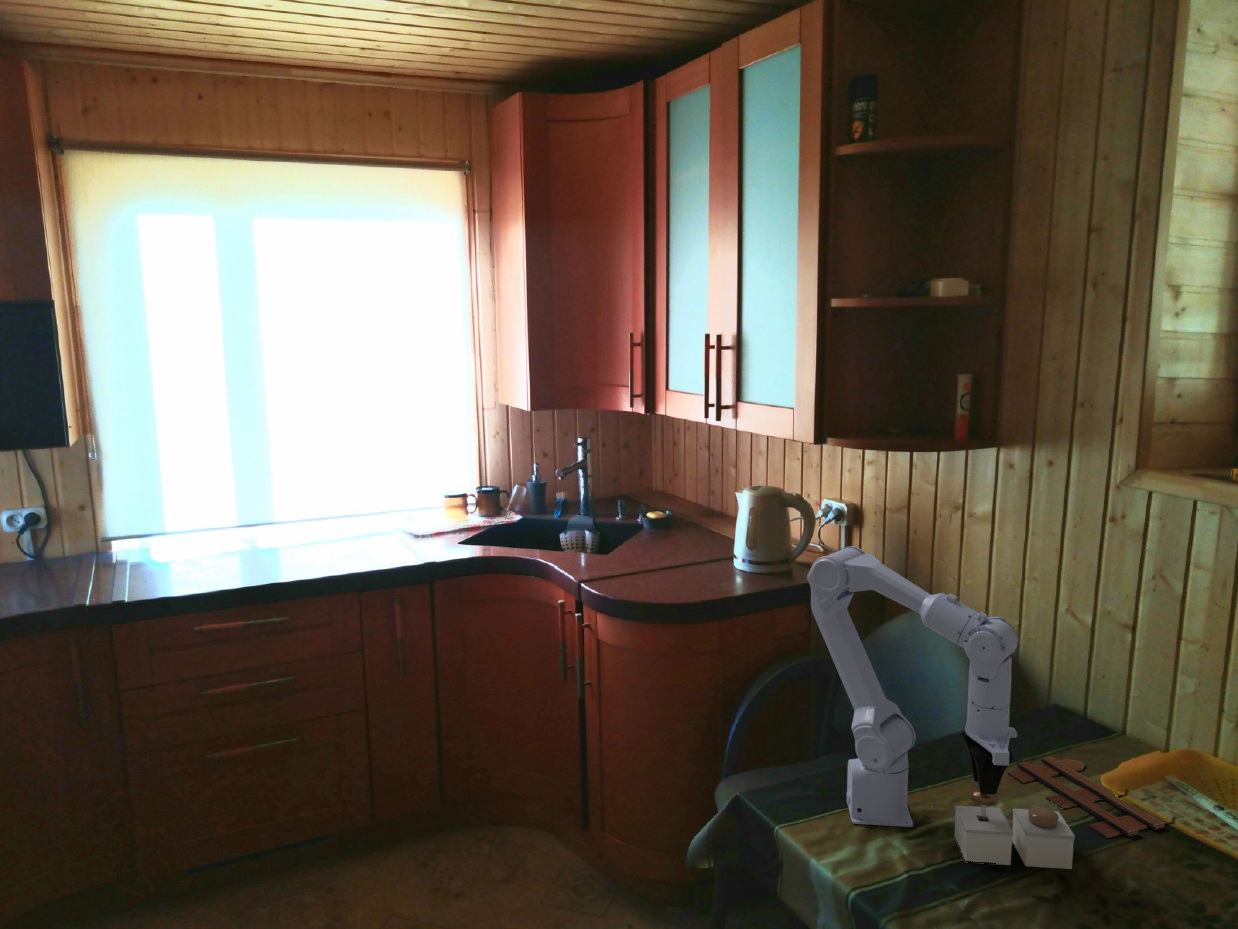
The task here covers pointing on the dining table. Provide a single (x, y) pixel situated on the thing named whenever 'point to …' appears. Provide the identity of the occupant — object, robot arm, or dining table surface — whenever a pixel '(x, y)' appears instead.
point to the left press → (983, 835)
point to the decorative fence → (1087, 797)
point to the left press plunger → (983, 799)
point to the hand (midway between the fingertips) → (984, 787)
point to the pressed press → (1042, 838)
